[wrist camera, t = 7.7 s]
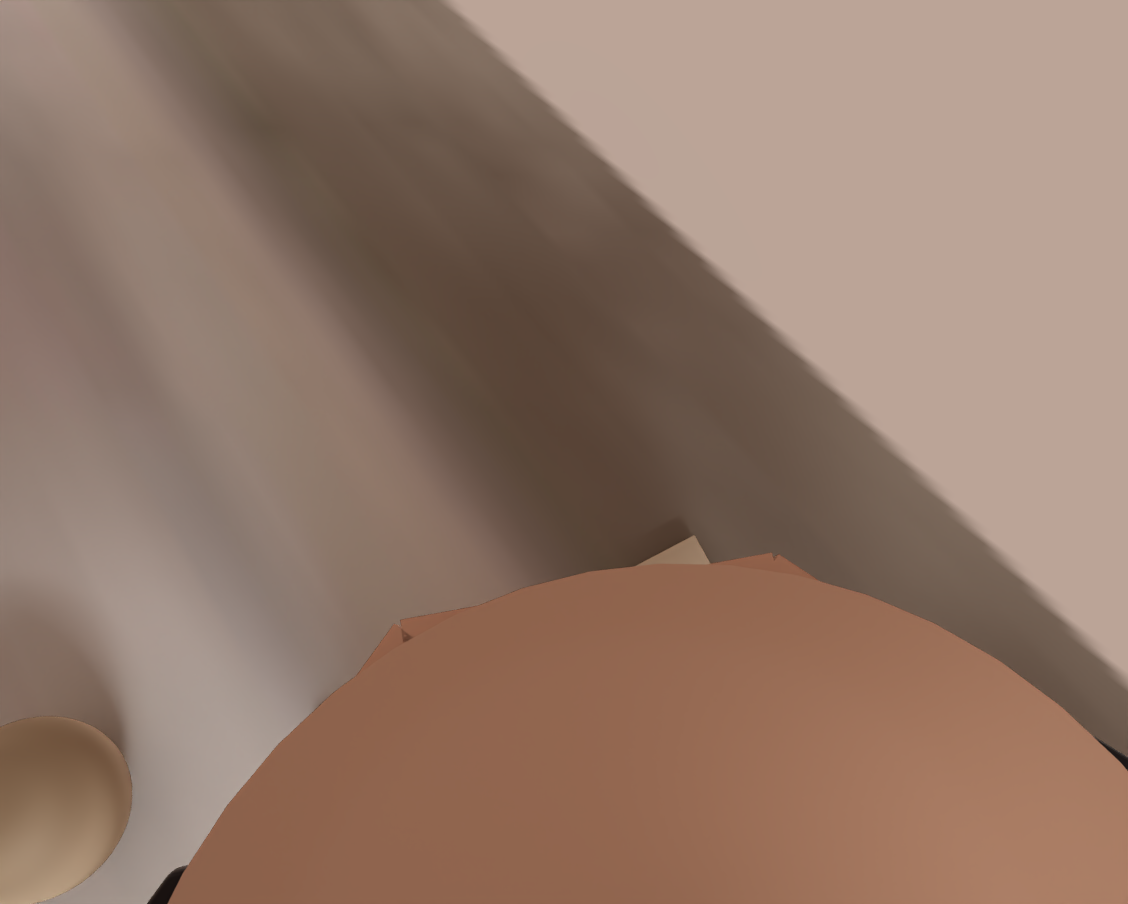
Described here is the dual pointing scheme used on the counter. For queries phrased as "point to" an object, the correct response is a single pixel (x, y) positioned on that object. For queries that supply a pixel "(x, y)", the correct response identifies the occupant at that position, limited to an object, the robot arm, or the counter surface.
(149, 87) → the counter surface
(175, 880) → the robot arm
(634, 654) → the brown rounded shape
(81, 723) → the wooden ball
